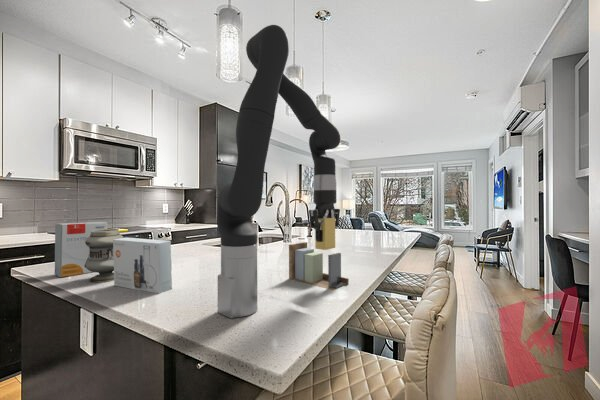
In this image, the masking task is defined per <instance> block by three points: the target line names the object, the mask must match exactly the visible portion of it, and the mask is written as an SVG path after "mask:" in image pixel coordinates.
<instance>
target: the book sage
mask: <svg viewBox="0 0 600 400" xmlns="http://www.w3.org/2000/svg"><path fill="white" fill-rule="evenodd" d="M304 256H305V281H307V282H311V283H314V282H317V281H320V280H323V273H324V272H323V270H324V264H323V263H324V258H323V257H324V254H323V253H322V252H318V251H317V252H316V251H314V252H313V253H308V254H304Z"/></svg>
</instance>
